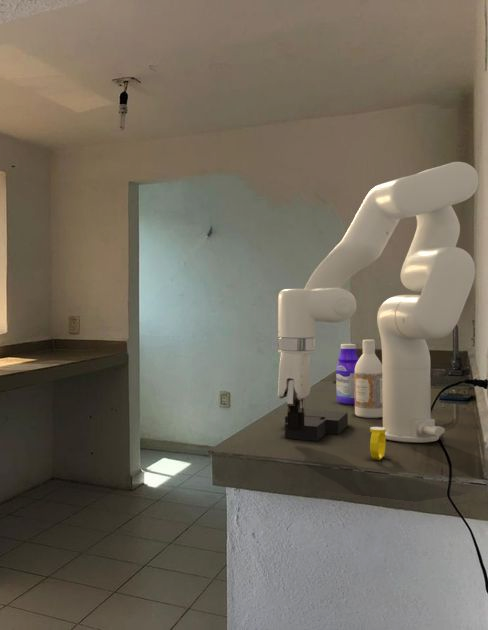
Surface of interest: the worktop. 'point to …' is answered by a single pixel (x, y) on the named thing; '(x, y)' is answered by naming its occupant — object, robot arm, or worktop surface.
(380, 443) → the watch
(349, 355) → the bottle
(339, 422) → the notch pad
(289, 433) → the tongue pad
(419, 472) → the worktop surface
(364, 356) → the bath foam
